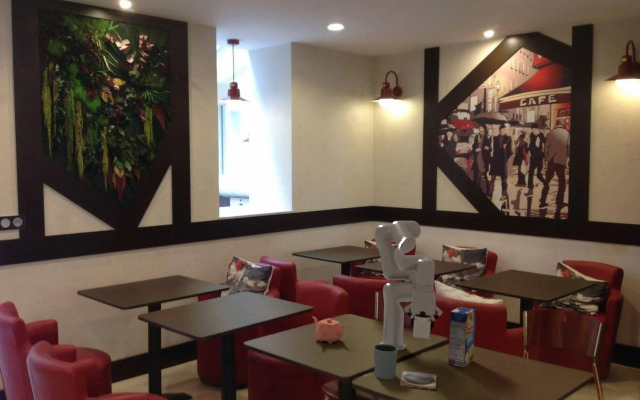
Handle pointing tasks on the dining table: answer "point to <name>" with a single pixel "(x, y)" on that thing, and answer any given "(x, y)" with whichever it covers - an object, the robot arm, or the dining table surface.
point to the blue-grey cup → (385, 361)
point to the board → (418, 380)
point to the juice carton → (461, 336)
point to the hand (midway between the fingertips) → (422, 327)
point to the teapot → (328, 330)
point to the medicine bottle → (422, 325)
